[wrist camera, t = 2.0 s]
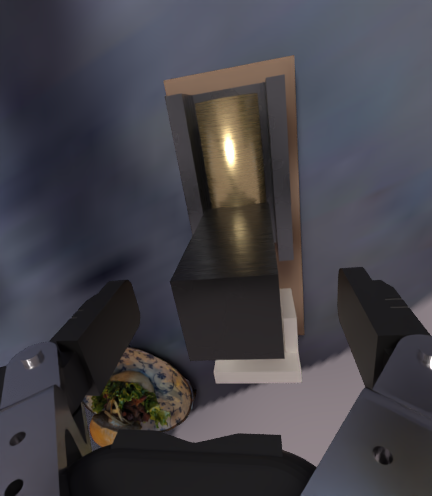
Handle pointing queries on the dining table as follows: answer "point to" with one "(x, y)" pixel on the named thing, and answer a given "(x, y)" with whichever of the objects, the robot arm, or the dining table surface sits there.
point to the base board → (257, 74)
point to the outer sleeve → (272, 148)
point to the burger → (140, 397)
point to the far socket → (268, 368)
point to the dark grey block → (231, 244)
